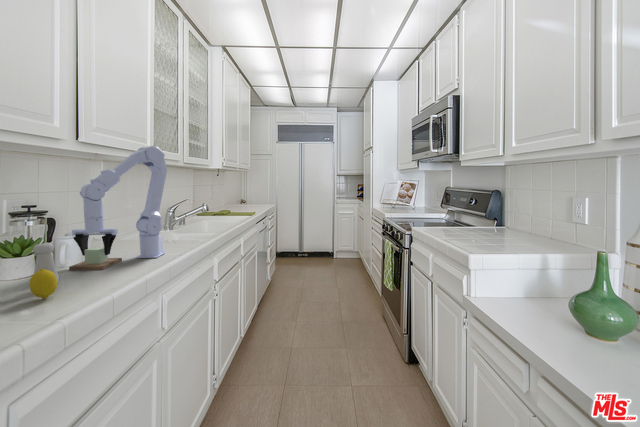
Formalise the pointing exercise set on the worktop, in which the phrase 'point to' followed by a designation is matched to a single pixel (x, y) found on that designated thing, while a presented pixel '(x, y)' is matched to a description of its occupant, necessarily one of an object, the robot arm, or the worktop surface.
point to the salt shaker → (45, 258)
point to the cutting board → (95, 265)
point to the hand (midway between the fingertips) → (96, 254)
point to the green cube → (95, 255)
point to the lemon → (43, 283)
